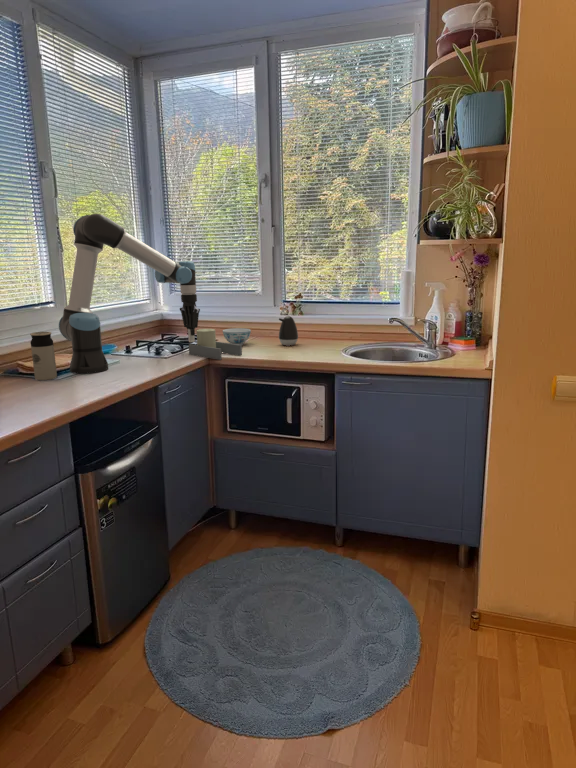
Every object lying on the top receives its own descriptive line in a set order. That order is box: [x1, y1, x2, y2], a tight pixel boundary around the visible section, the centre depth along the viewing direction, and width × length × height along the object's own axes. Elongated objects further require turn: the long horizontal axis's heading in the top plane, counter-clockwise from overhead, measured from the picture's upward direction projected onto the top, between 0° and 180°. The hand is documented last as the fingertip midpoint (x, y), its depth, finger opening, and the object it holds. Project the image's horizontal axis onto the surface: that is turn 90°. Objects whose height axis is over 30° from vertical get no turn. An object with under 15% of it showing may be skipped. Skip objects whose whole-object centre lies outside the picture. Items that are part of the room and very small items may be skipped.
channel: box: [188, 340, 243, 361], centre depth 256 cm, size 14×22×5 cm, turn 49°
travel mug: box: [30, 331, 58, 381], centre depth 209 cm, size 8×8×18 cm
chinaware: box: [222, 327, 252, 346], centre depth 285 cm, size 15×15×8 cm
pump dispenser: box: [278, 315, 299, 347], centre depth 281 cm, size 10×10×15 cm
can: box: [195, 328, 217, 348], centre depth 259 cm, size 9×9×12 cm
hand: (191, 341), depth 267 cm, fingers closed
